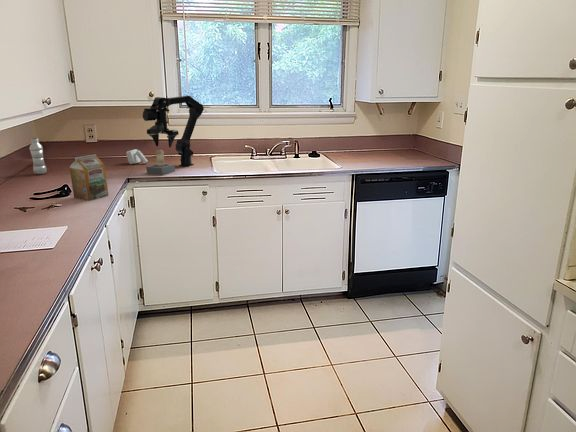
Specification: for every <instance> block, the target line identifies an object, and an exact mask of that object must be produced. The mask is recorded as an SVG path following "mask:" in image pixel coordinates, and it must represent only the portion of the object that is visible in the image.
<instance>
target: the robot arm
mask: <svg viewBox="0 0 576 432" xmlns="http://www.w3.org/2000/svg"><path fill="white" fill-rule="evenodd" d="M178 104H185V105H186V106H187V107H188V112H189V113H188V114H189V117H188V120H187V122H186V125H185V128H184V131H183V134H182V136H181V138H180V139H177V140H176V143H175V145H174V146H175V151H176V152H177V154H178V156H180V164H178V165H179V166H182V167H191V166H194V163H192V157H193V156H194V151H193V150H192V149H191V138H192V135H193V132H194V130H195V126H196V124H197V121H198V119H199V118H201V117H200V116H201V115H203V112H204V110H205V107H204V105H203V104H202V103H200V102H199V101H197V100H195V99H194V98H193V97H192V96H191V95H181V96H175V97H163V96H162V97H160V96H157V97H154V99H153V102H152V104H151V106H150V107H149V108H147V107H146V108H145V107H144V108H143V112H142V118H143V120H144V121H145V122H148V121H150V122H152V121H154V125H151V127H149V128H147V130H146V135H148V136H149V137H151V138H152V140H153V141H154V144H155V147H159V144H160V143H159V139H160V138H159V137H160V134H161V135H163V134H164V135H167V136H166V138H167V140H168V147H169V148H172V145H173V143H174V140H175V138H176V137H177V136H179V135H180V134H179V131H178V130H177V129H169V128H168V124H169V121H168V120H167V118H168V117H167V112H170V111H171V110H170V109H169V108H168V107H171V106H172V105H178Z"/></svg>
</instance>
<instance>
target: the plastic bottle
mask: <svg viewBox="0 0 576 432" xmlns="http://www.w3.org/2000/svg"><path fill="white" fill-rule="evenodd" d="M30 142H31V144H30V145H29V151H30V155H31V158H32V166H33V167H32V168H33V169H32V170H33V173H34V174H36V175H44V174H46V173H47V172H48V171H47V165H46V162H45V160H44V159H45V158H44V148H43V147H44V146H43V145H42V144H41V143H40V140H39V138H38V137H33V138H32V137H31V138H30Z"/></svg>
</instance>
